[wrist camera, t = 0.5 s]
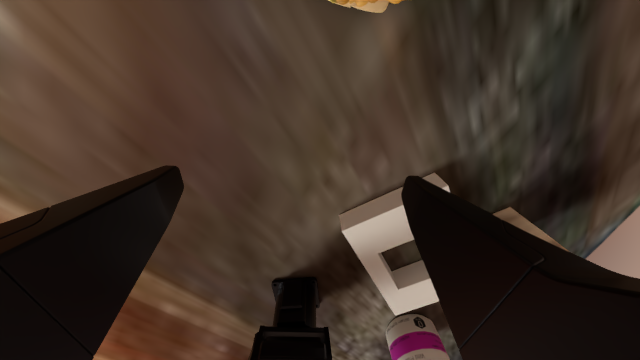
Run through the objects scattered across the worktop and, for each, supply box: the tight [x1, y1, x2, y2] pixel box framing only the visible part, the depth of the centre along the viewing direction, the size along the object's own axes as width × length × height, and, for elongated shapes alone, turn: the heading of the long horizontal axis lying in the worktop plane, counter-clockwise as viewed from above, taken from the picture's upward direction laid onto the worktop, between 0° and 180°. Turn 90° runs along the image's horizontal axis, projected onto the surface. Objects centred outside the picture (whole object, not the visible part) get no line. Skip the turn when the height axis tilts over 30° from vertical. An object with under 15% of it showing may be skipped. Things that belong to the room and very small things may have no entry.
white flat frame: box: [339, 173, 450, 316], centre depth 30 cm, size 12×18×3 cm, turn 28°
